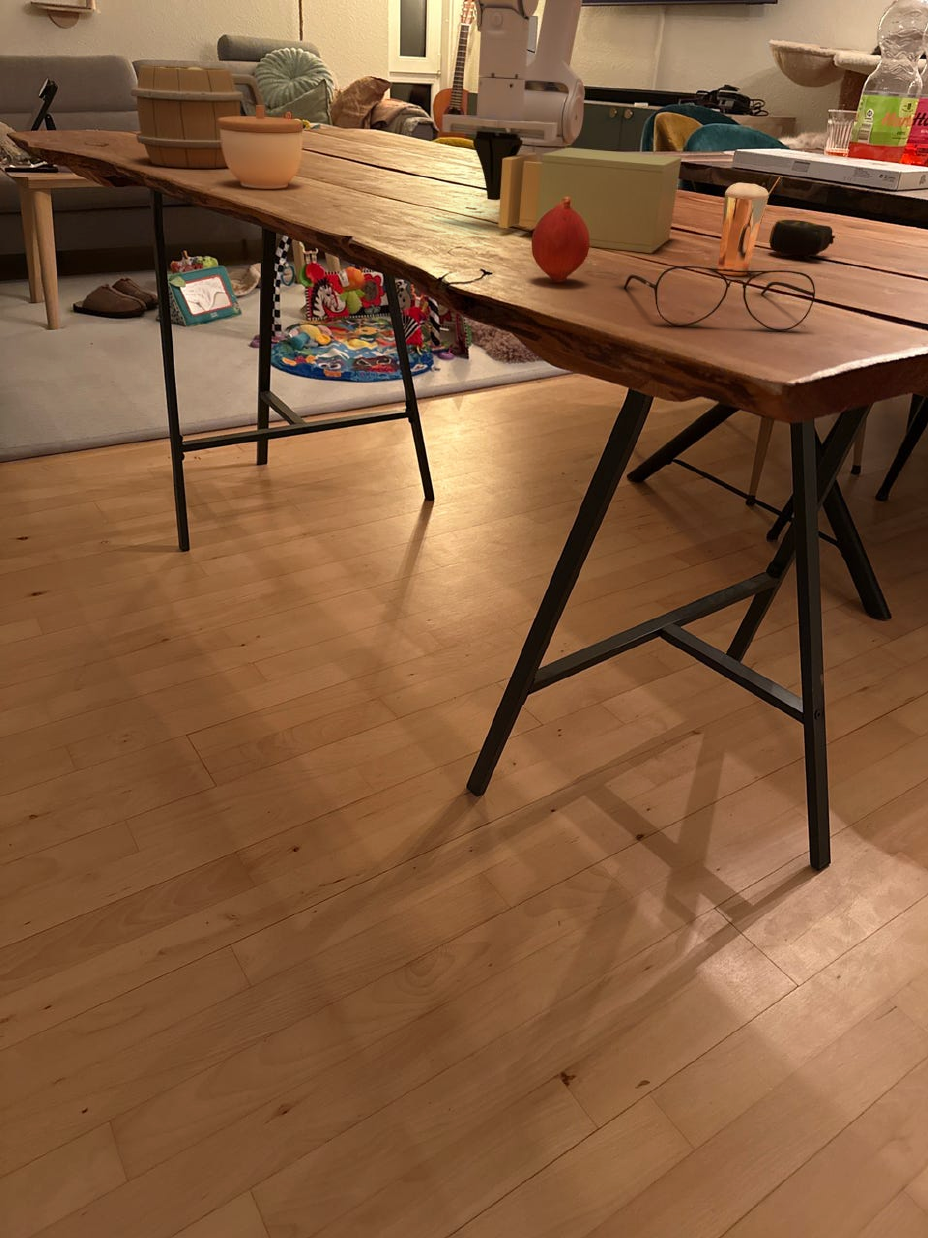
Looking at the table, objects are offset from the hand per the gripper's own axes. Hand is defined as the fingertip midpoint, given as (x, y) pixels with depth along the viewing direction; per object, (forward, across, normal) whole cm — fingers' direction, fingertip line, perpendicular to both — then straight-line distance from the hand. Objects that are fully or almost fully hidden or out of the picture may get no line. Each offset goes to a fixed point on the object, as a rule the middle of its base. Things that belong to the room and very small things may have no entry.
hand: (494, 198), depth 121 cm
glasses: (+4, +33, -31) cm, 45 cm away
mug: (+4, -66, +33) cm, 74 cm away
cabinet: (+3, +15, 0) cm, 15 cm away
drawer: (+3, +9, 0) cm, 9 cm away
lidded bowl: (+4, -43, +14) cm, 45 cm away
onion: (+4, +17, -28) cm, 33 cm away
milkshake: (+4, +33, -12) cm, 35 cm away
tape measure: (+4, +39, +4) cm, 39 cm away
